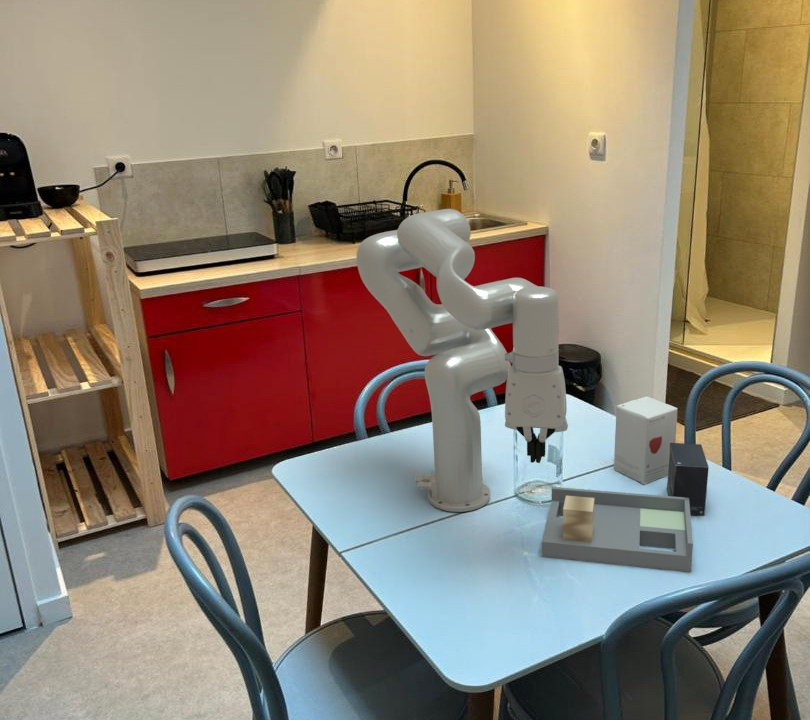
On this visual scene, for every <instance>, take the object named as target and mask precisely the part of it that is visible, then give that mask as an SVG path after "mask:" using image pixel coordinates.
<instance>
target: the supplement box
mask: <svg viewBox="0 0 810 720" xmlns="http://www.w3.org/2000/svg"><path fill="white" fill-rule="evenodd" d="M615 413H616V414H615V433H614V438H615V439H614V455H613V470H615V471H616V472H619V473H621V474H623V475H625V476H627V477H629V478H630V479H633V480H634V481H637V482H639V483H640V484H642V485H645V484H649V483H651V482H654V481H656V480H660V479H661V478H664V477H668V469H669V455H670V443H676V440H677V439H676V437H677V424H678V423H677V422H678V407H675V406H673V405H671V404H668V403H665V402H662V401H660V400H658V399H656V398H652V397H649V396H648V395H646V396H644V397H640V398H637V399H632V400H630V401H627V402H625V403H620V404H617V405H616V412H615Z"/></svg>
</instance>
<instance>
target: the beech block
mask: <svg viewBox="0 0 810 720" xmlns="http://www.w3.org/2000/svg"><path fill="white" fill-rule="evenodd" d="M562 518H563V539H565V540H575V541H586V542H592V537H593V529H594V498H590V497H578V496H566V498H565V503H564V508H563V516H562Z"/></svg>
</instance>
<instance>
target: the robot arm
mask: <svg viewBox="0 0 810 720" xmlns="http://www.w3.org/2000/svg"><path fill="white" fill-rule="evenodd" d="M471 233H472V232H471V226H470V224H469V220H467V217H465V215H464V214H463V213H461V212H460V211H459V210H457V209H453V208H443V209H436V210H431V211H426V212H419V213H415V214H411V215H409V216H408V217H406V218H405V219H403V220H402V222H400V224H399V225H398V228H397V229H395V230H390V231H384V232H380V233H376V234H373V235H370V236H368V237H367V238H365V239H363V240H362V241H361V242H360V243H359V245H358V247H357V249H356V257H355V259H356V266H357V270H358V274H359V276H360V279H361V281H362V283H363V284H364V286H365V287H366V289H367V290H368V292H370V294H371V295H372V296H373V297H374V298H375V300H377V302H379V304H380V305H381V306H382V307H384V309H385V310H386V311H387V313H388V314H389V316H390V317H391V319H392V321H393V322H394V324H395V326H396V327H397V328H398V330H399V331H400V333H401V334H402V336H403V337H404V339H405V341H406V343H408V345H409V346H410V347H411V348H412V350H413V351H414V352H415V354H417V355H419V356H421V357H422V356H423V357H429V356H432V357H431V358H430V359H429V360H428V361H427V363H426V364H425V366H424V367H425V368H424V379H425V384H426V388H427V391H428V396H429V402H430V409H431V419H432V420H431V422H432V425H431V426H432V439H433V441H432V442H433V443H432V444H433V461H434V466H433V467H434V473H431V474H424V473H416V474H415V478H414V480H415V484H417V487H418V489H428V495H427V497H428V501H429V502H430V504H431V505H432V506H433V507H435V508H437V509H439V510H441V511H447V512H454V513H463V512H465V513H466V512H470V511H471V512H472V511H474V510H477V509H480V508H482V507H484V506H485V505H486V504H488V502H489V501H490V499H491V489H490V488H489V486H487V485H486V484H485V483H483V467H482V466H483V463H482V458H483V457H482V456H483V455H482V426H481V415H480V412H479V410H478V408H477V407H476V406H475V404H474V403H473V402H472V400H471V396H472V395H474V394H477V393H479V392H483V391H486V390H488V389H493V388H495V387H497V386H500V385H502V384H503V383H505V382H506V384H505V399H504V403H505V404H504V419H505V422H504V426H505V428H508V429H511V430H514V431H518V433H520V435H521V436H523V438H524V440H525V441H526V455H527V456H528V457H530V463H535V462H536V463H538V464H540V463H541V461H542V458H544V457H545V458H546V441H547V440H548V438H550V437H551V436H552V435H553V434H555V433H560V432H561V433H562V432H566V431H567V430H568V427H569V424H568V421H567V420H568V419H567V391H566V381H565V380H566V379H565V376H564V370H563V367H562V366H561V365H559V358H560V357H559V353H560V352H559V346H560V345H559V337H560V336H559V331H560V329H559V327H560V326H559V324H560V323H559V320H560V319H559V317H560V314H559V313H560V312H559V311H560V308H559V307H560V305H559V304H560V303H559V301H560V299H559V294H558V293H557V291H556V290H555V289H553V288H551V287H546V286H538V285H536V284H534V283H532V282H531V281H529V280H527V279H525V278H522V277H511V278H507V279H502V280H496V281H493V282H488V283H484V284H483V283H482V284H480V285H479V284H478V285H474V286H473V285H471V284H470V283H468V282H467V281H466V280H465V279H466V278H467V277H468V276H469V274H470V273H471V271H472V269H473V267H474V266H475V265H474V264H475V260H476V255H475V254H476V253H475V250H474V249H473V246H472V245H470V243H469V242H470V238H471ZM419 268H424V269H425V270H426V271H428V272H429V273H430V274H431V275H433V276H434V277H436V291H437V294H438V297H439V301H440V303H441V304H436V303H434V302H433V301H432V300H431V299H430V298H429V297H428V296H427V294H426V292H425V290H424V289H423V288H422V287H421V286H420V285H419V284H418V283H416V282H415V281H413V280H412V279H410V278H408V277H406V276H404V275H402V274H401V273H400V272H405V271H410V270H414V269H419ZM508 324H512V345H513V346H512V347H513V348H512V350H511V352H507V350H506V349H505V347H504V345H503V343H502V342H501V341H500V339H499V338H498V337H497V335H496V334H495V332H493V328H496V327H500V326H504V325H508ZM511 364H512V365H511ZM534 428H535V429H536V428H537V429H539V433H537V434H538V435H537V436H536V433H535V432H534Z"/></svg>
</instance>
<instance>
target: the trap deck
mask: <svg viewBox="0 0 810 720" xmlns="http://www.w3.org/2000/svg"><path fill="white" fill-rule="evenodd" d="M566 496H578V497H590V498H594V529H593V537H592V542H586V541H575V540H565V539H563V508H564V503H565V498H566ZM549 506H550V507H549V509H548V515H547V518H546V523H545V526H544V527H545V528H544V531H543V536H542V539H541V557H543V558H544V557H545V558H551V559H553V558H554V559H563V560H570V559H571V561H572V560H573V561H580V560H581V562H582V561H583V562H590V563H591V562H592V563H598V564H599V563H601V564H608V565H609V564H610V565H618V566H619V565H620V566H629V567H639V568H649V569H658V570H659V569H660V570H667V571H668V570H669V571H675V572H676V571H677V572H678V571H679V572H685V573H686V572H687V573H692V561H693V548H694V547H693V546H694V539H693V530H692V529H693V528H692V517H691V516H692V515H690V504H689V498H685V497H673V496H668V495H659V494H658V495H657V494H647V493H636V492H635V493H634V492H624V491H623V492H622V491H621V492H620V491H608V490H596V489H595V490H594V489H583V488H572V487H570V488H569V487H558V486H551V502H550V504H549ZM560 516H562V517H560ZM640 546H643V547H644V546H647V547H656V548H667V549H674V551H669V550H661V549H660V550H659V549H650V548H649V549H648V548H641V547H640Z"/></svg>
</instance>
